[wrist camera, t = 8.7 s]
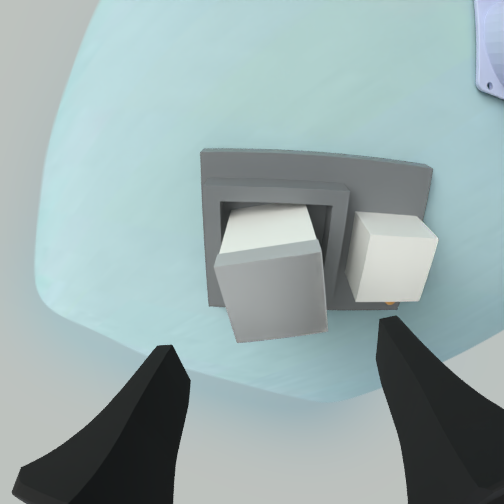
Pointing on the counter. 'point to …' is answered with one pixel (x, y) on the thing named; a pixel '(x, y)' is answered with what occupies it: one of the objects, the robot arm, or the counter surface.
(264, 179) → the grey block holder
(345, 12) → the counter surface
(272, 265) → the plug
